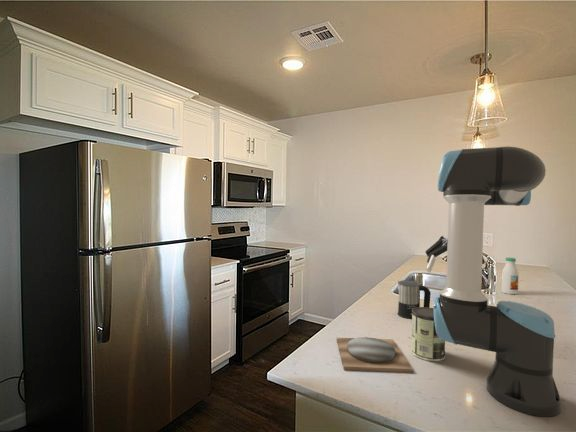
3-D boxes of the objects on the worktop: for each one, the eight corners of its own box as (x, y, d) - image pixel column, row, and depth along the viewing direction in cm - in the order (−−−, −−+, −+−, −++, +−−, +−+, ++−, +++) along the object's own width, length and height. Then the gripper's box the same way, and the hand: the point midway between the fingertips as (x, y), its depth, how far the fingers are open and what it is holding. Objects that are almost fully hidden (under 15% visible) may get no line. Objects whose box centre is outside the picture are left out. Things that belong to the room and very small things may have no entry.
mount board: (412, 372, 91) (412, 364, 91) (343, 369, 92) (343, 361, 92) (392, 342, 111) (393, 335, 111) (336, 340, 112) (336, 333, 112)
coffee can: (440, 348, 106) (441, 307, 106) (449, 363, 96) (450, 318, 96) (408, 345, 108) (409, 305, 108) (414, 359, 98) (415, 315, 98)
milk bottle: (504, 294, 174) (505, 258, 173) (499, 290, 181) (500, 256, 180) (520, 295, 171) (521, 259, 171) (514, 291, 179) (515, 257, 178)
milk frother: (405, 320, 132) (406, 285, 132) (384, 308, 148) (385, 277, 147) (433, 317, 136) (434, 283, 136) (410, 306, 151) (411, 275, 151)
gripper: (502, 239, 115) (488, 286, 105) (433, 234, 133) (416, 273, 124) (498, 225, 111) (484, 273, 102) (428, 222, 130) (410, 262, 120)
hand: (447, 273), depth 113 cm, fingers open, 13 cm apart
